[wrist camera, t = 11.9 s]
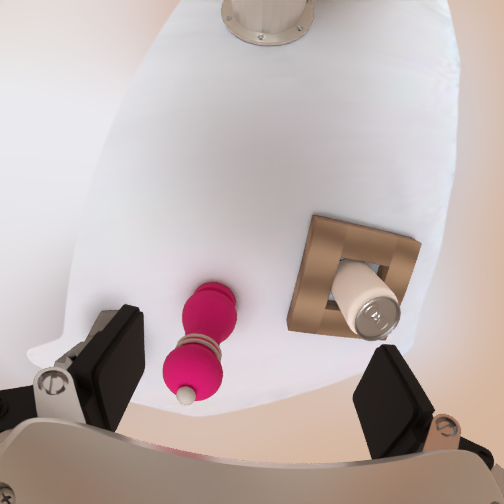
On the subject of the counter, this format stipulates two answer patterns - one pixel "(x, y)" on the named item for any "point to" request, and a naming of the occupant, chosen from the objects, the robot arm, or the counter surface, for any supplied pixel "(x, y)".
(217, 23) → the counter surface
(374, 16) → the counter surface
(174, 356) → the pepper mill
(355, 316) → the can
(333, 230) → the socket board
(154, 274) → the counter surface
